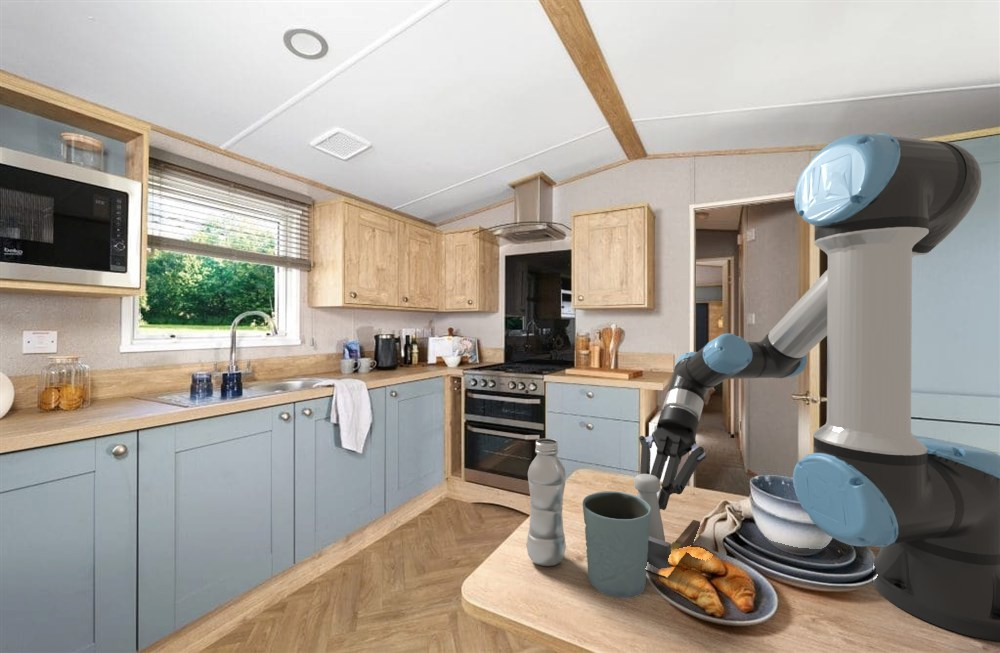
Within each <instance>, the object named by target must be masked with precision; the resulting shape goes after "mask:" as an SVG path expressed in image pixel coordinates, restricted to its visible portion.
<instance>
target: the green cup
mask: <svg viewBox="0 0 1000 653" xmlns="http://www.w3.org/2000/svg"><path fill="white" fill-rule="evenodd" d="M582 510H583V521H584V524H585V526H584V527H585V528H584V533H585V547H586V558H587V559H586V562H587V576H588V580H589V582H590V584H591V586H592V587H593V588H594V589H595V590H597V591H598V592H599V593H602V594H604V595H606V596H609V597H612V598H616V599H617V598H618V599H632V598H636V597H638V596H640V595H642V594H643V592H644V591H645V588H646V584H647V582H646V581H647V571H646V569H645V568H646V566H647V559H648V556H647V554H648V541H649V537H648V536H649V527H650V518H651V507H650V505H649V504H648V503H647V502H646V501H644V500H643V499H641V498H639V497H637V495H634V494H630V493H627V492H623V491H616V490H615V491H613V490H609V491H608V490H606V491H598V492H594V493H590V494H588V495H587V496H585V497H584V498H583V499H582Z"/></svg>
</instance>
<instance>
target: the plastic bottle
mask: <svg viewBox="0 0 1000 653" xmlns="http://www.w3.org/2000/svg"><path fill="white" fill-rule="evenodd" d="M558 442H559V441H558V440H557V439H555V438H554V439H553V438H539V439H537V440H535V450H534V452H535V454H536V456H535V457H534V459H533V460H532V461H531V463H530V464H529V467H528V470H527V481H528V488H529V496H530V497H529V498H530V500H529V501H530V502H529V504H530V515H529V516H530V518H529V528H528V534H527V539H526V549H527V550H526V552H527V556H528V557H529V559H530V560H531V561H532V563H534V564H536V565H537V566H542V567H552V566H556V565H558V564H560V563H561V562H562V560H563V559H564V557H565V555H566V550H567V549H566V548H567V542H566V536H565V532H564V520H563V519H564V518H563V508H564V507H563V505H564V504H563V503H564V493H565V487H566V480H567V472H566V467H565V466H564V464H563V462H562V461H561V459H560V458H559V457H558V454H559V448H558V447H559V446H558V445H559V444H558Z"/></svg>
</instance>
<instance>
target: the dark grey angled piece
mask: <svg viewBox="0 0 1000 653" xmlns="http://www.w3.org/2000/svg"><path fill="white" fill-rule="evenodd" d="M699 527H700V528H701V521H699V520H696V519H693V520H692V521H691V522H690V523H689V524H688V526H687V527H686V528H685V529H684V530H683V531H682V532H681V533H680V535H679V536H678V538H677V539H676V540H675V541H672V543H671V542H668V541H666V540H665V541H663V540H660V539H657V538H654V537H651V536H648V537H649V541H648V554H647V556H648V559H647V562H649V564H651V565H653V566H654V567H656V568H658V569H661V568H667V567H670V564H669V562H668V558H669V555H670V554H671V551H672V550H674V549H679V548H683V547H687V546H690V545H692V546H693V545H694V544H693V542H694V539H695V537H696V534H697V531H698V529H699ZM694 543H695V542H694Z"/></svg>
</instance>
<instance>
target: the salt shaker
mask: <svg viewBox="0 0 1000 653" xmlns="http://www.w3.org/2000/svg"><path fill="white" fill-rule="evenodd" d="M634 488H635V489H636V490H637V495H636V496H637V497H639V498H641V499H643V500H644V501H646V502H647V503H648V504H649V505H650V507H651V518H650V527H649V536H651V537H654V538H657V539H660V540H663V541H666V537H665V531H664V526H663V519H662V515H661V509H660V508H659V503H658V497H657V492H658V491H660V488H661V480H659V479H658V478H657V477H656V476H654V475H651V473H650V474H640V473H639V474H637V475H635V477H634Z"/></svg>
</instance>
